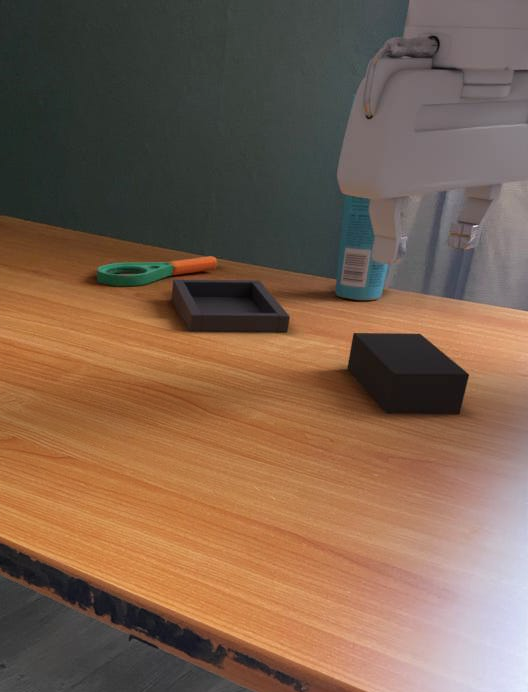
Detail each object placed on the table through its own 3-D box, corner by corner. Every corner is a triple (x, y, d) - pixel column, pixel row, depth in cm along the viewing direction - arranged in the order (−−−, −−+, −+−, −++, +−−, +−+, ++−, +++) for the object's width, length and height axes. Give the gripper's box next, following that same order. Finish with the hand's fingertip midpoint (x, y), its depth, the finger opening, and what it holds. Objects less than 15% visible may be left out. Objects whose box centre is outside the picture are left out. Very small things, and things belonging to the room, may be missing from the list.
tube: (387, 292, 110) (424, 95, 100) (396, 302, 106) (435, 98, 96) (319, 289, 111) (349, 93, 100) (325, 300, 106) (357, 96, 96)
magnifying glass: (112, 288, 110) (113, 272, 109) (87, 277, 114) (87, 261, 113) (226, 276, 115) (228, 261, 114) (197, 266, 120) (199, 251, 119)
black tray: (257, 300, 106) (259, 280, 105) (286, 338, 94) (290, 315, 92) (171, 299, 106) (173, 279, 105) (189, 337, 93) (191, 314, 92)
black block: (411, 376, 84) (420, 333, 82) (458, 421, 75) (469, 374, 73) (345, 375, 84) (353, 332, 82) (384, 420, 75) (393, 373, 73)
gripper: (419, 38, 59) (374, 280, 66) (592, 39, 70) (536, 247, 77) (334, 35, 63) (300, 263, 70) (510, 36, 74) (464, 234, 81)
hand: (425, 254), depth 74 cm, fingers open, 8 cm apart
